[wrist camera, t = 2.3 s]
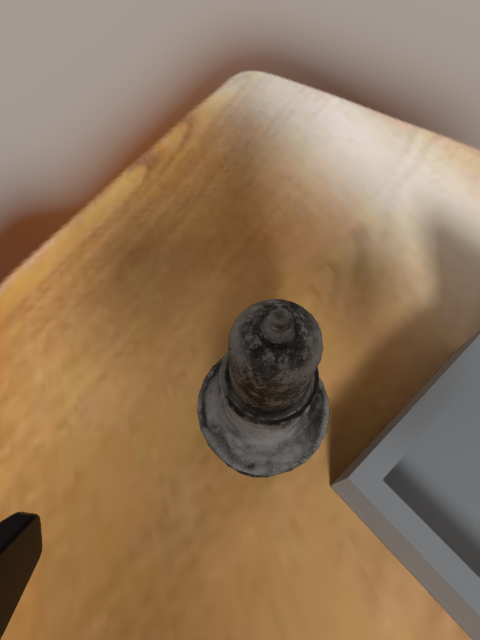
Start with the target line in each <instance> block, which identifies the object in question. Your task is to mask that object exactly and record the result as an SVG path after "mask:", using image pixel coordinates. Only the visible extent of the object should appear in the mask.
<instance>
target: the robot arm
mask: <svg viewBox="0 0 480 640" xmlns="http://www.w3.org/2000/svg"><path fill="white" fill-rule="evenodd" d="M41 552H42V534H41V522H40V517H39V516H38V515H37V514H34V513H27V512H17V513H15V514H13V515H11V516H9V517H8V518H6V519H5V520H3V521H1V522H0V639H1V637H2V635H3V633H4V631H5V629H6V627H7V625H8V623H9V621H10V619H11V617H12V615H13V613H14V610H15V608H16V606H17V604H18V602H19V600H20V598H21V596H22V594H23V592H24V590H25V588H26V585H27V583H28V581H29V579H30V577H31V575H32V573H33V571H34V569H35V567H36V565H37V562H38V560H39V558H40V555H41Z"/></svg>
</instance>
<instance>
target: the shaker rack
mask: <svg viewBox="0 0 480 640" xmlns="http://www.w3.org/2000/svg"><path fill="white" fill-rule="evenodd" d="M331 487H332V489H333V490H334V491H335V492H336V493H337V494H338V495H339V496H340V497H341V498H342V499H343V500H344V501H345V503H346V504H347V505H348V506H349V507H350V508H351V509H352V510H353V511H354V512H355V513H356V514H357V515H358V517H359V518H360V519H361V520H362V521H363V522H364V523H365V524H366V525H367V526H368V527H369V528H370V530H371V531H372V532H373V533H374V534H375V535H376V536H377V537H378V538H379V539H380V540H381V541H382V542H383V544H384V545H385V546H386V547H387V548H388V549H389V550H390V551H391V552H392V553H393V554H394V555H395V557H396V558H397V559H398V560H399V561H400V562H401V563H402V564H403V565H404V566H405V567H406V568H407V569H408V571H409V572H410V573H411V574H412V575H413V576H414V577H415V578H416V579H417V580H418V581H419V582H420V583H421V585H422V586H423V587H424V588H425V589H426V590H427V591H428V592H429V593H430V594H431V595H432V596H433V598H434V599H435V600H436V601H437V602H438V603H439V604H440V605H441V606H442V607H443V608H444V609H445V610H446V612H447V613H448V614H449V615H450V616H451V617H452V618H453V619H454V620H455V621H456V622H457V623H458V624H459V626H460V627H461V628H462V629H463V630H464V631H465V632H466V633H467V634H468V635H469V636H470V637H471V639H472V640H480V331H479V332H478V333H477V334H475V335H474V336H473V337H472V338H471V339H469V340H468V341H467V342H466V343H465V344H463V345H462V346H461V347H460V348H458V349H457V351H456V352H455V353H454V354H453V355H452V356H451V357H450V358H449V359H448V360H447V361H446V362H445V363H444V364H443V366H442V367H441V368H440V369H439V370H438V371H437V372H436V373H435V374H434V375H433V376H432V377H431V378H430V379H429V381H428V382H427V383H426V384H425V385H424V386H423V387H422V388H421V389H420V390H419V391H418V392H417V393H416V395H415V396H414V397H413V398H412V399H411V400H410V401H409V402H408V403H407V404H406V405H405V406H404V407H403V408H402V410H401V411H400V412H399V413H398V414H397V415H396V416H395V417H394V418H393V419H392V420H391V421H390V422H389V423H388V425H387V426H386V427H385V428H384V429H383V430H382V431H381V432H380V433H379V434H378V435H377V436H376V437H375V438H374V440H373V441H372V442H371V443H370V444H369V445H368V446H367V447H366V448H365V449H364V450H363V451H362V452H361V453H360V455H359V456H358V457H357V458H356V459H355V460H354V461H353V462H352V463H351V464H350V465H349V466H348V467H347V468H346V470H345V471H344V472H343V473H342V474H341V475H340V476H339V477H338V478H337V479H336V480H335V481H334V482H333V484H332V485H331Z"/></svg>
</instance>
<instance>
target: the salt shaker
mask: <svg viewBox="0 0 480 640" xmlns="http://www.w3.org/2000/svg"><path fill="white" fill-rule="evenodd" d="M322 351H323V344H322V333H321V330H320V328H319V325H318V323H317V321H316V320H315V319H314V317H313V316H312V314H310V313H309V312H308V311H307V310H306V309H304V308H303V307H302V306H300V305H297V304H295V303H293V302H290V301H286V300H282V299H270V300H265V301H261V302H258V303H256V304H254V305H252V306H250V307H248V308H247V309H246V310H245V311H243V312H242V313H241V314H240V315H239V317H238V318H237V320H236V321H235V323H234V324H233V327H232V329H231V332H230V335H229V341H228V352H227V353H226V355H225V356H224V357H223V358H222V359H221V360H220V361H219V362H218V363H216V364H215V365H214V366H213V367H212V369H211V370H210V372H209V373H208V375H207V376H206V378H205V379H204V381H203V384H202V387H201V390H200V393H199V396H198V410H197V413H198V418H199V423H200V428H201V431H202V433H203V435H204V437H205V439H206V441H207V443H208V445H209V447H210V448H211V449H212V450H213V451H214V452H215V453H216V454H217V456H218V457H219V458H220V459H221V460H223V461H224V462H225V463H226V464H227V465H228V466H229V467H231V468H232V469H234V470H236V471H237V472H239V473H241V474H244V475H248V476H251V477H270V476H274V475H278V474H281V473H284V472H288V471H291V470H293V469H295V468H296V467H298V466H300V465H301V464H303V463H304V462H306V461H307V460H308V459H309V458H310V457H311V456H312V455H313V454H314V452H315V451H316V450H317V449H318V448H319V446H320V444H321V442H322V440H323V438H324V436H325V434H326V432H327V427H328V421H329V416H330V413H329V402H328V396H327V393H326V391H325V388H324V385H323V382H322V381H321V379H320V378H319V372H318V365H319V363H320V360H321V356H322Z"/></svg>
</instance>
